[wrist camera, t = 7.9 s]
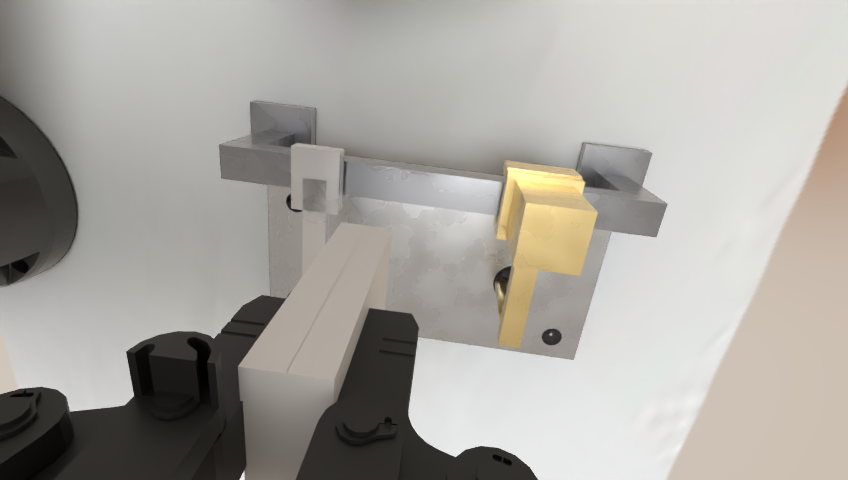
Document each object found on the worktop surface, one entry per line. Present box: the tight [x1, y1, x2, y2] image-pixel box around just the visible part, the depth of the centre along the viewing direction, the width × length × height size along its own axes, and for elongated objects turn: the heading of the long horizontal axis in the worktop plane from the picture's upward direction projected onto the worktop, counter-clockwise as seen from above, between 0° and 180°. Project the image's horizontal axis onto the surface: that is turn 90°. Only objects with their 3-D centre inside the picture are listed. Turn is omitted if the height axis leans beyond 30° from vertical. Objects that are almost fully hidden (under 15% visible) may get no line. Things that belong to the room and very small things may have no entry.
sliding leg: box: [493, 160, 598, 348], centre depth 24 cm, size 4×10×10 cm, turn 173°
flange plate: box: [268, 185, 612, 360], centre depth 31 cm, size 23×11×1 cm, turn 83°
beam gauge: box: [219, 101, 667, 277], centre depth 26 cm, size 25×10×8 cm, turn 83°
